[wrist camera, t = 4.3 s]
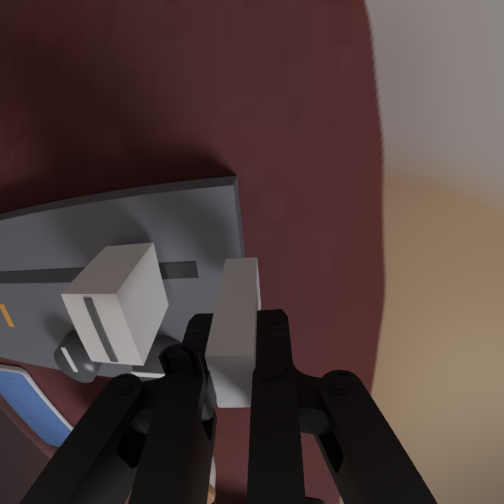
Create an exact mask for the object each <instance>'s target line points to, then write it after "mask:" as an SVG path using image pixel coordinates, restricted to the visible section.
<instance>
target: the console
mask: <svg viewBox="0 0 504 504" xmlns="http://www.w3.org/2000/svg"><path fill="white" fill-rule="evenodd" d="M140 243H154V247H155V252H156V256H157V260H158V265H159V269H160V273H161V277H162V281H163V285H164V289H165V293H166V297H167V301H168V304H169V306H168V308H167V310H166V313H165V315H164V317H163V320H162V322H161V324H160V327H159V329H158V332H157V334H156V336H155V339H154V341H153V344H152V346H151V349H150V351H149V353H148V356H147V358H146V361H145V363H144V366H141V365H127V364H115V363H104V362H95V361H91V359H90V357H89V355H88V353H87V351H86V349H85V347H84V345H83V343H82V341H81V339H80V337H79V335H78V333H77V331H76V329H75V326H74V324H73V322H72V320H71V317H70V315H69V313H68V311H67V308H66V306H65V303H64V301H63V299H62V296H61V293H62V292H63V291H64V290H65V289H66V288H67V286H68V285H69V284H70V283H71V282H72V281H73V280H74V279H75V278H76V277H77V276H78V275H79V274H80V272H81V271H82V270H83V269H84V268H85V267H86V266H87V265H88V264H89V263H90V262H91V261H92V260H93V259H94V258H95V257H96V256H97V255H98V254H99V253H100V252H101V251H102V250H103V249H104V248H105V247H106V246H116V245H128V244H140ZM236 258H245V249H244V240H243V230H242V220H241V210H240V200H239V190H238V180H237V176H228V177H217V178H207V179H197V180H188V181H180V182H171V183H164V184H156V185H149V186H141V187H135V188H128V189H121V190H115V191H109V192H103V193H97V194H91V195H86V196H80V197H75V198H70V199H65V200H60V201H55V202H50V203H45V204H40V205H36V206H31V207H27V208H23V209H18V210H14V211H10V212H6V213H2V214H0V357H2V358H6V359H10V360H15V361H19V362H23V363H28V364H33V365H37V366H42V367H48V368H53V369H59V370H62V371H63V372H64V373H65V374H66V375H67V376H69V377H70V378H72V379H74V380H76V381H79V382H82V383H90V382H92V381H93V380H94V378H95V376H96V375H98V376H106V377H116V376H118V375H120V374H126V373H128V374H134V375H136V376H138V377H139V378H140V380H141V381H142V382H143V381H148V380H153V379H157V378H161V377H163V376H165V373H164V371H163V368H162V366H161V363H160V360H159V358H158V356H159V355H160V353H161V352H162V351H163V350H164V349H165V348H167V347H169V346H171V345H174V344H180V343H182V341H183V339H184V334H185V332H186V328H187V325H188V321H189V320H190V319H191V318H192V317H193V316H194V315H195V314H198V313H214V310H215V306H216V301H217V296H218V292H219V287H220V283H221V278H222V274H223V270H224V265H225V261H226V259H236Z"/></svg>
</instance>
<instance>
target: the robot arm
mask: <svg viewBox="0 0 504 504" xmlns="http://www.w3.org/2000/svg"><path fill="white" fill-rule="evenodd" d="M158 358H159V360H160V363H161V366H162V368H163V371H164V373H165V376H163V377H161V378H157V379H153V380H148V381H143V382H142V381H141V380H140V378H139V377H138V376H136V375H134V374H128V373H126V374H120V375H118V376H116V377H114V378H113V379H112V380H110V381H109V382H108V384H107V385H106V386H105V388H104V389H103V390H102V391H101V393H100V394H99V395H98V397H97V398H96V399H95V401H94V402H93V403H92V405H91V406H90V407H89V409H88V410H87V411H86V412H85V414H84V415H83V416H82V418H81V419H80V420H79V422H78V423H77V424H76V426H75V427H74V428H73V430H72V431H71V432H70V434H69V435H68V437H67V438H66V439H65V441H64V442H63V443H62V445H61V446H60V447H59V449H58V450H57V451H56V453H55V454H54V456H53V457H52V458H51V460H50V461H49V463H48V464H47V465H46V467H45V468H44V470H43V471H42V472H41V474H40V475H39V476H38V478H37V479H36V481H35V482H34V484H33V485H32V486H31V488H30V489H29V491H28V492H27V494H26V495H25V496H24V498H23V499H22V501H21V502H20V504H124V503H125V501H126V499H127V497H128V496H129V494H130V492H131V495H130V499H129V503H128V504H207V499H208V490H209V481H210V473H211V464H212V456H213V448H214V440H215V432H216V423H217V416H216V412H215V406H216V401H217V405H218V407H251V417H250V440H249V462H248V484H247V504H325V503H324V502H323V501H320V500H317V499H309V498H305V488H304V473H303V459H302V446H301V434H300V432H303V433H309V434H314V436H315V439H316V441H317V443H318V445H319V448H320V450H321V452H322V455H323V457H324V459H325V461H326V464H327V466H328V468H329V471H330V473H331V475H332V477H333V480H334V482H335V484H336V486H337V489H338V491H339V493H340V495H341V498H342V500H343V502H344V504H437V502H436V500H435V499H434V497H433V495H432V494H431V492H430V490H429V489H428V487H427V485H426V484H425V482H424V481H423V479H422V477H421V476H420V474H419V472H418V471H417V470H416V467H415V466H414V464H413V462H412V461H411V459H410V458H409V456H408V454H407V453H406V451H405V450H404V448H403V446H402V445H401V443H400V442H399V440H398V438H397V437H396V435H395V434H394V432H393V430H392V429H391V427H390V426H389V424H388V422H387V421H386V419H385V418H384V416H383V415H382V413H381V411H380V410H379V408H378V407H377V405H376V404H375V402H374V400H373V399H372V397H371V396H370V394H369V393H368V391H367V389H366V388H365V386H364V385H363V383H362V382H361V380H360V379H359V378H358V377H357V376H356V375H355V374H354V373H352V372H349V371H346V370H334V371H331V372H328V373H326V374H325V375H324V376H323V377H322V378H318V377H312V376H308V375H305V374H303V373H301V372H300V371H299V370H297V369H296V367H295V366H294V364H293V361H292V351H291V342H290V332H289V323H288V316H287V315H286V314H285V313H284V311H283V310H282V309H276V310H261V301H260V288H259V276H258V263H257V257H253V258H236V259H226V261H225V265H224V270H223V274H222V278H221V283H220V287H219V292H218V296H217V301H216V306H215V310H214V313H198V314H195V315H194V316H193V317H192V318H191V319H190V320H189V321H188V325H187V328H186V332H185V334H184V339H183V341H182V343H180V344H174V345H171V346H169V347H167V348H165V349H164V350H163V351H162V352H161V353H160V355H159V356H158ZM131 490H132V491H131Z"/></svg>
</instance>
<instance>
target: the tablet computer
mask: <svg viewBox="0 0 504 504" xmlns="http://www.w3.org/2000/svg"><path fill="white" fill-rule="evenodd" d="M0 394H1V395H2V396H3V398H4V399H5V400H6V401H7V402H8V404H9V405H10V406H11V407H12V408H13V409H14V410H15V412H16V413H17V414H18V415H19V416H20V417H21V418H22V419H23V420H24V421H25V422H26V423H27V424H28V425H29V426H30V427H31V428H32V429H33V430H34V431H35V432H36V433H37V434H38V435H39V436H40V437H41V438H42V439H43V440H44V441H45V442H46V443H47V444H49V445H53V446H56V447H60V446H61V445H62V443H63V442H64V441H65V439H66V438H67V437H68V435H69V434H70V432H71V431H72V430H73V428H74V427H73V426H72V425H71V424H70V423H69V422H68V421H67V420H66V419H65V418H64V417H63V416H62V414H61V413H60V412H59V411H58V410H57V409H56V408H55V407H54V405H53V404H52V403H51V402H50V401H49V400H48V398H47V397H46V396H45V395H44V393H43V392H42V391H41V390H40V388H39V387H38V386H37V384H36V383H35V382H34V380H33V379H32V378H31V376H30V375H29V373H28V372H27V371H26V370H25V369H23V368H21V367H15V366H8V365H2V364H0Z"/></svg>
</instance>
